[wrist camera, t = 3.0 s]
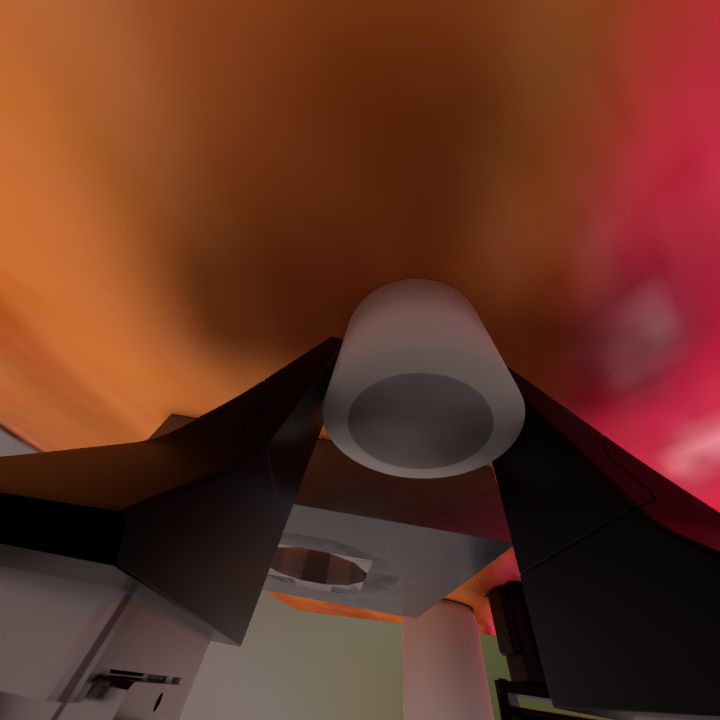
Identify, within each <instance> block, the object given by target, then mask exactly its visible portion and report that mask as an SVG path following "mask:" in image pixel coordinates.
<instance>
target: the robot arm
mask: <svg viewBox="0 0 720 720" xmlns="http://www.w3.org/2000/svg"><path fill="white" fill-rule="evenodd" d="M342 342H343V340H342V339H341V338H336V337H330V338H328V339H327V340H325V341H324V342H322V343H321V344H319V345H318V346H316V347H315V348H313V349H311V350H310V351H308V352H307V353H305V354H304V355H302V356H301V357H299V358H298V359H296V360H294V361H293V362H291V363H290V364H288V365H287V366H285V367H284V368H282V369H281V370H279V371H277V372H276V373H274V374H273V375H271V376H270V377H268V378H267V379H265V380H264V381H262V382H260V383H259V384H257V385H256V386H254V387H252V388H251V389H249V390H248V391H246V392H244V393H243V394H241V395H239V396H238V397H236V398H234V399H232V400H230V401H229V402H227V403H225V404H223V405H221V406H219V407H217V408H216V409H214V410H212V411H210V412H208V413H206V414H204V415H202V416H200V417H198V418H197V419H195V420H193V421H191V422H189V423H187V424H185V425H183V426H181V427H179V428H177V429H175V430H173V431H171V432H169V433H167V434H165V435H162V436H159V437H156V438H153V439H150V440H145V441H141V442H134V443H126V444H116V445H107V446H98V447H89V448H79V449H70V450H61V451H51V452H42V453H33V454H24V455H14V456H3V457H0V720H179V718H180V715H181V713H182V710H183V708H184V705H185V703H186V700H187V698H188V695H189V693H190V690H191V688H192V685H193V683H194V680H195V678H196V675H197V673H198V670H199V668H200V665H201V663H202V660H203V657H204V655H205V653H206V650H207V647H208V645H209V643H210V641H215V642H221V643H225V644H230V645H235V646H241V644H242V641H243V639H244V636H245V634H246V631H247V628H248V626H249V623H250V620H251V618H252V615H253V612H254V609H255V607H256V604H257V601H258V599H259V596H260V593H261V591H262V588H263V585H264V583H265V580H266V577H267V575H268V572H269V569H270V566H271V564H272V561H273V558H274V556H275V553H276V550H277V548H278V545H279V542H280V540H281V537H282V534H283V531H284V529H285V526H286V523H287V521H288V518H289V515H290V513H291V510H292V507H293V504H294V502H295V499H296V496H297V494H298V491H299V488H300V486H301V483H302V480H303V478H304V475H305V472H306V470H307V467H308V464H309V461H310V459H311V456H312V453H313V451H314V448H315V445H316V443H317V440H318V437H319V435H320V432H321V429H322V427H323V424H324V422H323V416H322V408H323V402H324V398H325V395H326V392H327V389H328V386H329V383H330V380H331V377H332V373H333V370H334V367H335V364H336V361H337V358H338V355H339V352H340V349H341V345H342ZM506 367H507V366H506ZM507 368H508V370H509V372H510V374H511V376H512V377H513V379H514V381H515V383H516V385H517V386H518V388H519V390H520V393H521V395H522V397H523V400H524V405H525V420H524V424H523V427H522V430H521V432H520V434H519V436H518V437H517V439H516V440H515V442H514V443H513V444H512V445H511V447H510V448H509V449H508V450H507V451H505V452H504V453H503V454H502V455H501V456H499V457H498V458H496V459H495V460H493V461H492V463H493V467H494V471H495V475H496V480H497V484H498V488H499V492H500V496H501V500H502V504H503V508H504V512H505V516H506V520H507V524H508V528H509V532H510V536H511V540H512V544H513V548H514V552H515V556H516V560H517V564H518V568H519V572H520V574H521V575H520V577H521V581H522V582H519V581H509V582H507V583H506V584H504V585H502V586H501V587H499V588H497V589H496V590H494V591H492V592H490V593H489V594H487V595H485V597H486V599H489V603H490V607H491V612H492V617H493V622H494V626H495V631H496V636H497V640H498V645H499V650H500V652H501V654H502V655H503V656H506V659H507V663H508V668H509V672H510V677H511V681H508V680H506V679H502V678H499V680H494V681H495V686H496V691H497V696H498V702H499V708H500V715H501V720H595V719H588V718H582V717H576V716H571V715H565V714H559V713H552V712H546V711H540V710H534V709H528V708H522V707H520V706H519V702H518V698H520V699H527V700H533V701H540V702H547V703H552V704H553V706H554V708H558V709H563V710H568V711H573V712H579V713H584V714H589V715H594V716H599V717H604V718H610V719H614V720H720V513H719V512H718V511H716V510H714V509H713V508H711V507H710V506H708V505H707V504H705V503H704V502H702V501H701V500H699V499H698V498H696V497H695V496H693V495H691V494H690V493H688V492H687V491H685V490H684V489H682V488H681V487H679V486H678V485H676V484H675V483H673V482H671V481H670V480H668V479H667V478H665V477H664V476H662V475H661V474H659V473H658V472H656V471H655V470H653V469H652V468H650V467H649V466H647V465H646V464H644V463H643V462H641V461H640V460H638V459H637V458H635V457H634V456H633V455H631V454H630V453H628V452H627V451H625V450H624V449H622V448H621V447H620V446H618V445H617V444H615V443H614V442H613V441H611V440H610V439H608V438H607V437H606V436H602V434H601V433H600V432H598V431H597V430H596V429H594V428H593V427H591V426H590V425H589V424H587V423H586V422H584V421H583V420H582V419H580V418H579V417H577V416H576V415H575V414H573V413H572V412H570V411H569V410H568V409H566V408H565V407H563V406H562V405H561V404H559V403H558V402H556V401H555V400H554V399H552V398H551V397H549V396H548V395H547V394H545V393H544V392H542V391H541V390H540V389H538V388H537V387H535V386H534V385H532V384H531V383H530V382H528V381H527V380H525V379H524V378H523V377H521V376H520V375H518V374H517V373H516V372H514V371H513V370H511V369H510V368H509V367H507Z"/></svg>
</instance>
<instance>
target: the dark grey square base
mask: <svg viewBox="0 0 720 720" xmlns="http://www.w3.org/2000/svg"><path fill="white" fill-rule="evenodd" d="M195 419H196V418H190V417H184V416H178V415H172V414H171V415H170V416H169V417H168V418H167V419H166V420H165V422H164V423H163V424H162V425H161V426H160V427H159V428H158V429H157V430H156V431H155V432H154V433H153V434H152V436H151V437H150V438H149V439H148V440H150V439H153V438H156V437H159V436H162V435H165V434H167V433H169V432H171V431H173V430H175V429H177V428H179V427H181V426H183V425H185V424H187V423H189V422H191V421H193V420H195ZM512 546H513V544H512V540H511V536H510V532H509V528H508V524H507V520H506V516H505V512H504V508H503V504H502V500H501V496H500V492H499V488H498V485H497V482H496V479H495V475H494V472H493V469H492V468H489V467H483V466H482V467H480V468H477V469H475V470H472V471H469V472H466V473H463V474H458V475H454V476H448V477H442V478H406V477H399V476H394V475H389V474H385V473H382V472H378V471H376V470H373V469H370V468H368V467H366V466H364V465H361V464H359V463H358V462H356V461H354V460H353V459H351V458H350V457H348V456H347V455H346V454H344V453H343V452H342V451H341V450H340V449H339V448H338V447H337V446H336V445H335V444H334V443H333V441H328V440H322V439H318V440H317V443H316V445H315V448H314V451H313V453H312V456H311V459H310V461H309V464H308V467H307V470H306V472H305V475H304V478H303V480H302V483H301V486H300V488H299V491H298V494H297V496H296V499H295V502H294V504H293V507H292V510H291V513H290V515H289V518H288V521H287V523H286V526H285V529H284V531H283V534H282V537H281V540H280V542H279V545H278V548H277V550H276V553H275V556H274V558H273V561H272V564H271V566H270V569H269V572H268V575H267V577H266V580H265V583H264V585H263V588H262V590H267V591H273V592H278V593H283V594H289V595H294V596H299V597H305V598H310V599H315V600H321V601H326V602H331V603H337V604H342V605H347V606H353V607H358V608H363V609H369V610H374V611H379V612H385V613H390V614H395V615H401V616H406V617H411V618H418V617H419V616H421V615H422V614H423V613H425V612H426V611H427V610H429V609H430V608H431V607H433V606H434V605H435V604H436V603H438V602H439V601H440V600H442V599H443V598H444V597H446V596H447V595H448V594H450V593H451V592H452V591H454V590H455V589H456V588H458V587H459V586H460V585H462V584H463V583H464V582H466V581H467V580H468V579H470V578H471V577H472V576H473V575H475V574H476V573H477V572H479V571H480V570H481V569H483V568H484V567H485V566H487V565H488V564H489V563H491V562H492V561H493V560H495V559H496V558H497V557H499V556H500V555H501V554H503V553H504V552H505V551H506V550H508V549H509V548H510V547H512Z"/></svg>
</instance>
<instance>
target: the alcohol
mask: <svg viewBox="0 0 720 720" xmlns="http://www.w3.org/2000/svg"><path fill="white" fill-rule="evenodd" d="M403 690H404V691H403V692H404V693H403V695H404V720H494V717H493V711H492V706H491V700H490V694H489V688H488V683H487V677H486V672H485V666H484V660H483V654H482V648H481V642H480V637H479V631H478V625H477V620H476V618H475V617H474V615H473V613H472V612H471V610H470V609H469V608H468V607H467V606H465V605H463V604H460V603H457V602H453V601H449V600H443V599H442V600H440V601H439V602H438V603H436V604H435V605H434V606H433V607H431V608H430V609H429V610H427V611H426V612H425V613H423V614H422V615H421V616H419V617H418V618H411V617H406V616H403Z"/></svg>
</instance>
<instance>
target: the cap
mask: <svg viewBox="0 0 720 720" xmlns="http://www.w3.org/2000/svg"><path fill="white" fill-rule="evenodd" d="M322 416H323V422H324V426H325V429H326V431H327V433H328V435H329V437H330V438H331V440H332V441H333V443H334V444H335V445H336V446H337V447H338V448H339V449H340V450H341V451H342V452H343V453H344V454H346V455H347V456H348V457H350V458H351V459H353V460H354V461H356V462H358V463H359V464H361V465H364V466H366V467H368V468H370V469H373V470H376V471H378V472H382V473H385V474H389V475H394V476H399V477H406V478H442V477H448V476H454V475H458V474H463V473H466V472H469V471H472V470H475V469H477V468H480V467H482V466H484V465H486V464H488V463H490V462H492V461H493V460H495V459H496V458H498V457H499V456H501V455H502V454H503V453H504V452H505V451H507V450H508V449H509V448H510V447H511V445H512V444H513V443H514V442H515V440H516V439H517V437H518V436H519V434H520V432H521V430H522V427H523V424H524V420H525V405H524V400H523V397H522V395H521V393H520V390H519V388H518V386H517V385H516V383H515V381H514V379H513V377H512V376H511V374H510V372H509V370H508V368H507V367H506V365H505V363H504V361H503V359H502V357H501V356H500V354H499V352H498V350H497V348H496V347H495V345H494V343H493V341H492V339H491V338H490V336H489V334H488V332H487V330H486V328H485V327H484V325H483V323H482V321H481V319H480V318H479V316H478V314H477V312H476V310H475V309H474V307H473V306H472V304H471V303H470V301H469V300H468V299H467V298H466V297H465V296H464V295H463V294H461V293H460V292H459V291H457V290H456V289H454V288H452V287H451V286H449V285H447V284H444V283H441V282H438V281H434V280H429V279H418V278H417V279H405V280H399V281H395V282H392V283H389V284H386V285H384V286H382V287H380V288H378V289H376V290H375V291H373V292H372V293H370V294H369V295H368V296H367V297H365V298H364V299H363V300H362V301H361V303H360V304H359V305H358V306H357V308H356V309H355V310H354V312H353V314H352V316H351V318H350V321H349V324H348V327H347V330H346V333H345V336H344V339H343V342H342V345H341V349H340V352H339V355H338V358H337V361H336V364H335V367H334V370H333V373H332V377H331V380H330V383H329V386H328V389H327V392H326V395H325V398H324V402H323V408H322Z"/></svg>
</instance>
